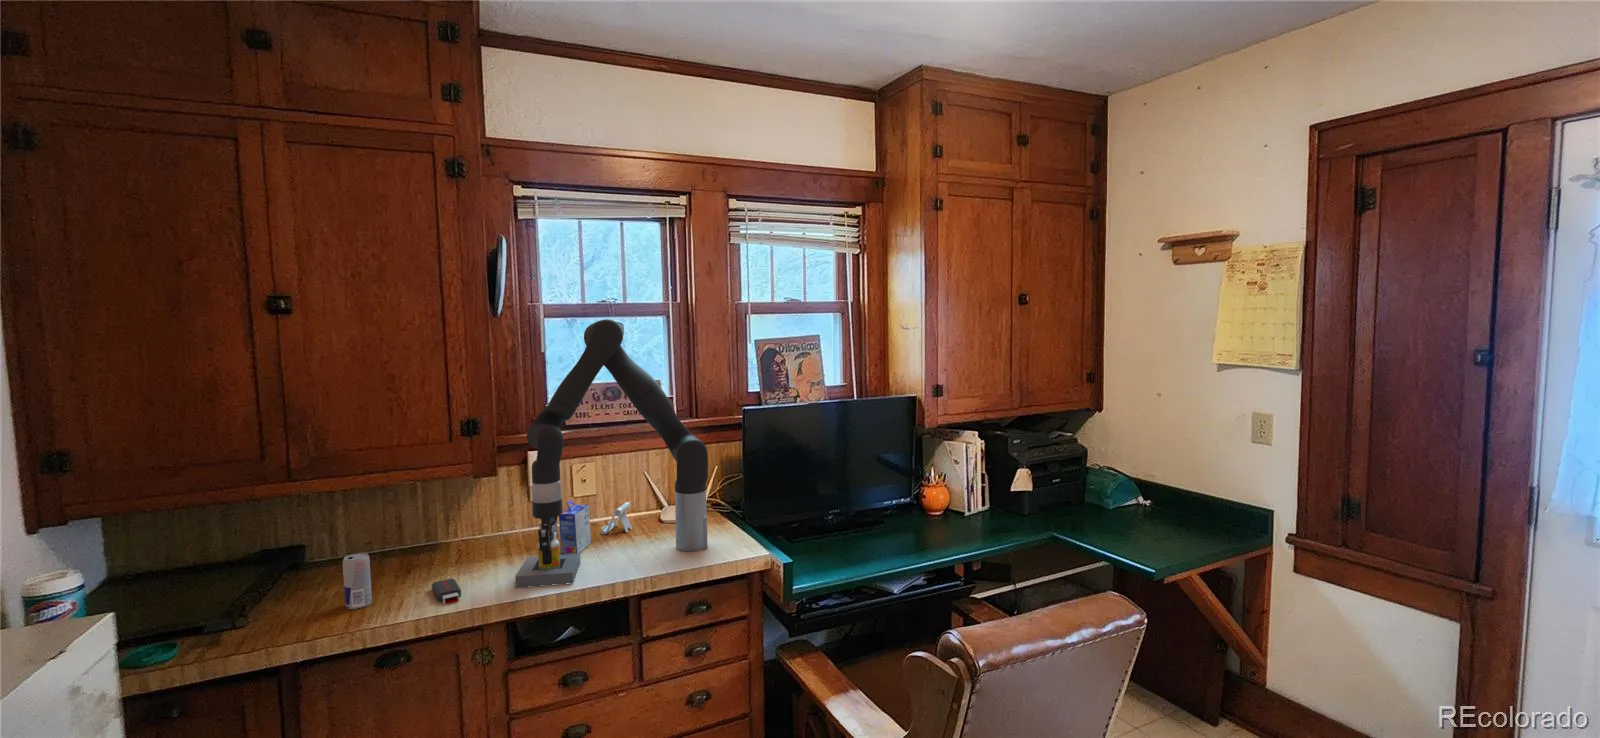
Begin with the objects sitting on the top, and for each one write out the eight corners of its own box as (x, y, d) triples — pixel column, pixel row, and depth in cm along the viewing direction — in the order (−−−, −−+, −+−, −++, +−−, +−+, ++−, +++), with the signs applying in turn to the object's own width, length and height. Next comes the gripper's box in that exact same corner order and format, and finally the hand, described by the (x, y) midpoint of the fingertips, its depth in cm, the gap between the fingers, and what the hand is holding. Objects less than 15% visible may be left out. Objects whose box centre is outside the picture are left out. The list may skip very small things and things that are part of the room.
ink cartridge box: (574, 543, 203) (572, 496, 202) (591, 543, 202) (590, 497, 201) (559, 554, 193) (557, 505, 192) (577, 555, 192) (576, 506, 191)
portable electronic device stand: (611, 526, 219) (610, 501, 218) (634, 526, 218) (633, 502, 218) (601, 534, 211) (600, 509, 210) (624, 535, 210) (624, 509, 209)
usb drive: (454, 586, 172) (454, 575, 171) (463, 601, 162) (463, 590, 162) (432, 591, 169) (431, 580, 168) (439, 607, 159) (439, 596, 159)
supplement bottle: (539, 574, 174) (538, 537, 173) (537, 567, 178) (536, 531, 178) (561, 570, 176) (560, 534, 175) (558, 563, 181) (557, 528, 180)
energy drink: (353, 600, 162) (350, 553, 161) (376, 599, 163) (373, 552, 162) (340, 610, 157) (337, 561, 156) (364, 609, 157) (361, 560, 156)
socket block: (580, 563, 185) (580, 553, 185) (573, 583, 172) (572, 572, 172) (527, 567, 183) (527, 557, 183) (515, 588, 169) (515, 576, 169)
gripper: (557, 504, 169) (559, 568, 171) (566, 490, 183) (568, 549, 185) (526, 506, 168) (529, 571, 169) (537, 491, 182) (540, 551, 183)
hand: (549, 559), depth 177 cm, fingers closed on supplement bottle, 5 cm apart
